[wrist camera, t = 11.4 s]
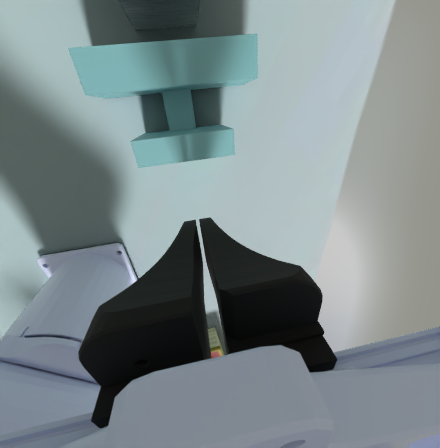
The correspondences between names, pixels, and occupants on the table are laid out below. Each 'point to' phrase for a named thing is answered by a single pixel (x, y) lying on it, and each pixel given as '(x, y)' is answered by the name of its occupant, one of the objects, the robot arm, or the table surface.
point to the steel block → (160, 13)
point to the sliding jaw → (171, 88)
